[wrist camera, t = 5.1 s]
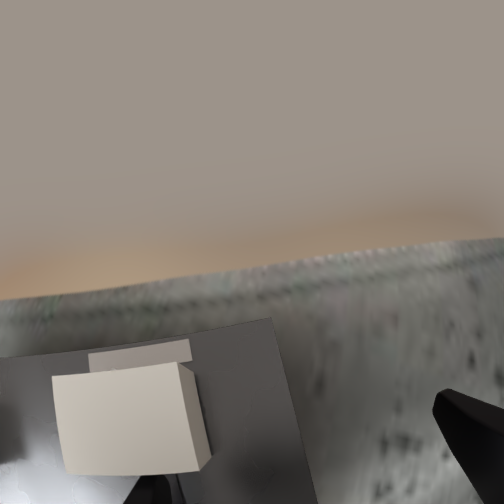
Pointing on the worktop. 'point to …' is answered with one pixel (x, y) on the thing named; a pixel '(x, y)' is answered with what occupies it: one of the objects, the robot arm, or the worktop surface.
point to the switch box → (213, 412)
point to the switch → (131, 421)
